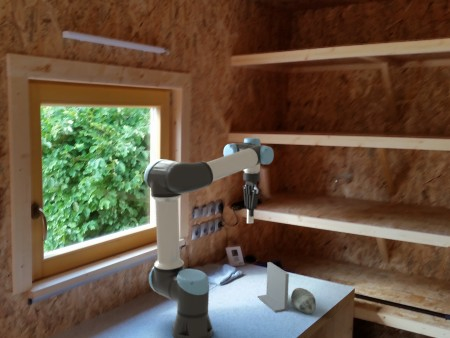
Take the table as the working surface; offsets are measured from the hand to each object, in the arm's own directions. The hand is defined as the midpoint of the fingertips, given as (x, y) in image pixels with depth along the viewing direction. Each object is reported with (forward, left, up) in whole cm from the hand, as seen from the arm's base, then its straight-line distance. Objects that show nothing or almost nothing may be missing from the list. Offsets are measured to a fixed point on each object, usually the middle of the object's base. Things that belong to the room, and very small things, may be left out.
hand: (250, 222), depth 212 cm
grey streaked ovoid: (+13, -26, -33) cm, 44 cm away
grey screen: (+3, -17, -32) cm, 37 cm away
